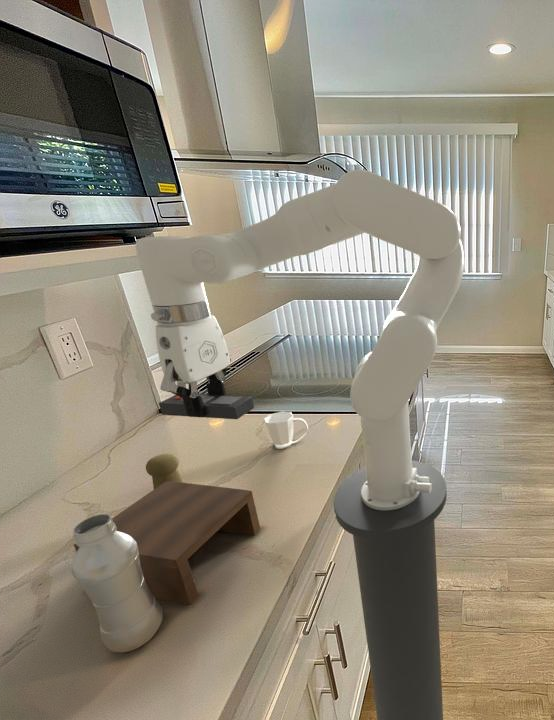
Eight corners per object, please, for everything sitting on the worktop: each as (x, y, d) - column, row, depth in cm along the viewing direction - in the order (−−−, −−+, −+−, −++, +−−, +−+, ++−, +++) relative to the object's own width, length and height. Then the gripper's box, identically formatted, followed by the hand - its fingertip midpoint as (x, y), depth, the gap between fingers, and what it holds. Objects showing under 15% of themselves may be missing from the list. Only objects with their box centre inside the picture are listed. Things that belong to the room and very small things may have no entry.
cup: (272, 439, 106) (266, 412, 104) (311, 434, 109) (307, 408, 106) (266, 453, 100) (260, 425, 97) (308, 447, 103) (303, 420, 100)
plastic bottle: (170, 606, 60) (132, 499, 54) (161, 646, 55) (117, 532, 48) (116, 626, 57) (68, 515, 51) (100, 670, 52) (45, 552, 45)
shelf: (260, 529, 76) (251, 490, 73) (190, 605, 61) (175, 560, 58) (178, 518, 78) (166, 480, 75) (92, 588, 63) (73, 544, 60)
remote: (254, 407, 74) (251, 395, 73) (237, 419, 70) (234, 406, 69) (183, 403, 76) (179, 391, 75) (161, 414, 72) (157, 402, 71)
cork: (162, 496, 84) (147, 452, 81) (195, 490, 86) (182, 446, 83) (151, 515, 79) (135, 468, 75) (187, 508, 81) (173, 462, 77)
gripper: (158, 326, 58) (189, 434, 64) (238, 303, 74) (257, 391, 80) (113, 324, 59) (148, 431, 65) (202, 302, 75) (224, 390, 81)
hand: (208, 408), depth 73 cm, fingers closed on remote, 4 cm apart
